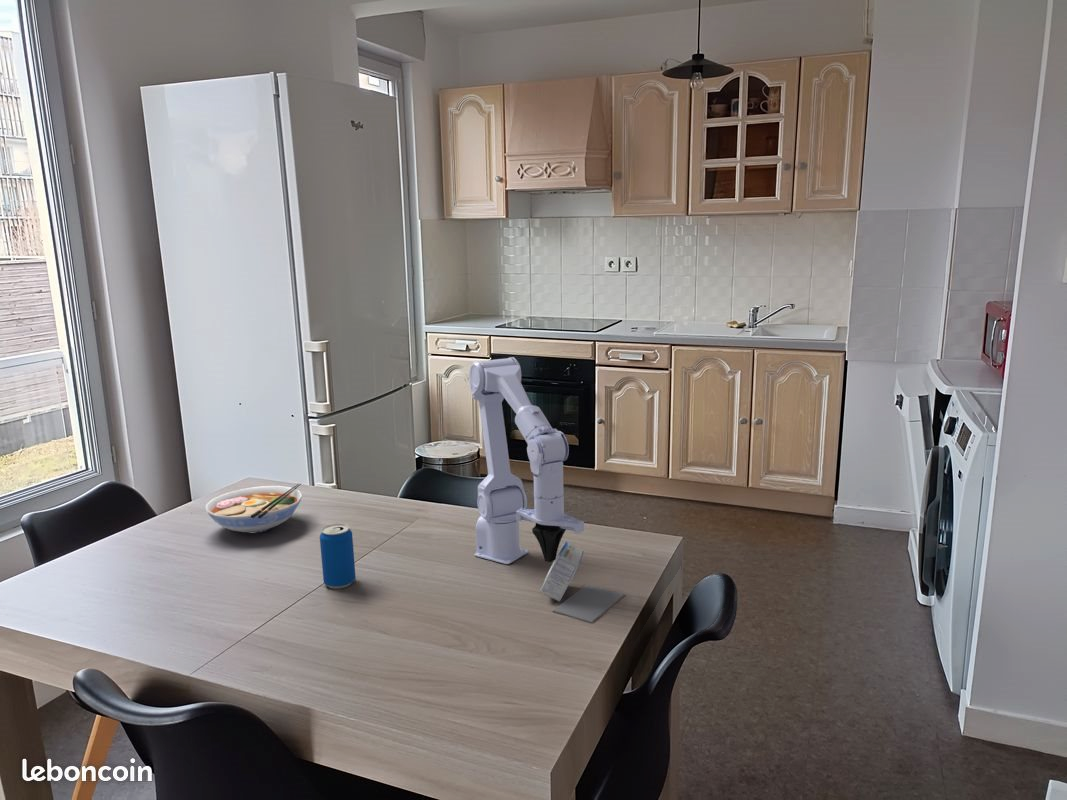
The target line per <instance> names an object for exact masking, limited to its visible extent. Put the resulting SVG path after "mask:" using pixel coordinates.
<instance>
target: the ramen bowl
mask: <svg viewBox="0 0 1067 800" xmlns="http://www.w3.org/2000/svg"><path fill="white" fill-rule="evenodd" d="M301 485H302V483H297V484H296V485H295V486H293V487H291V486H283V485H282V486H281V485H261V486H253V487H245V488H240V489H236V490H232V491H228V492H226V493H223V494H220V495H218V496H216V497H213V498H211V499H210V500H209V501H208V502H207V503H206V504H205V505H204V506H205V511H206V513H207V515H208V516H209V517H210V518H211V519H212V520H213V521H214V522H215V523H216V524H218V525H219V526H221V527H222V528H225V529H228V530H230V531H233V532H242V533H245V532H260V533H262V532H261V531H264V532H266V531H265V530H267V531H269V530H271V529H273V528H274V527H277V526H279V525H281V524H283V523H285V522H286V521H287V520H288V519H289V518H291V516H292V515H293V514H294V512H295V511H296V509H297V508H298V506H299V505H300V504H301V503H300V502H301V501H302V498H303V494H302V492H301V489H300V490H299V489H298V488H299V487H300V486H301ZM270 528H271V529H270ZM268 529H269V530H268Z"/></svg>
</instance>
